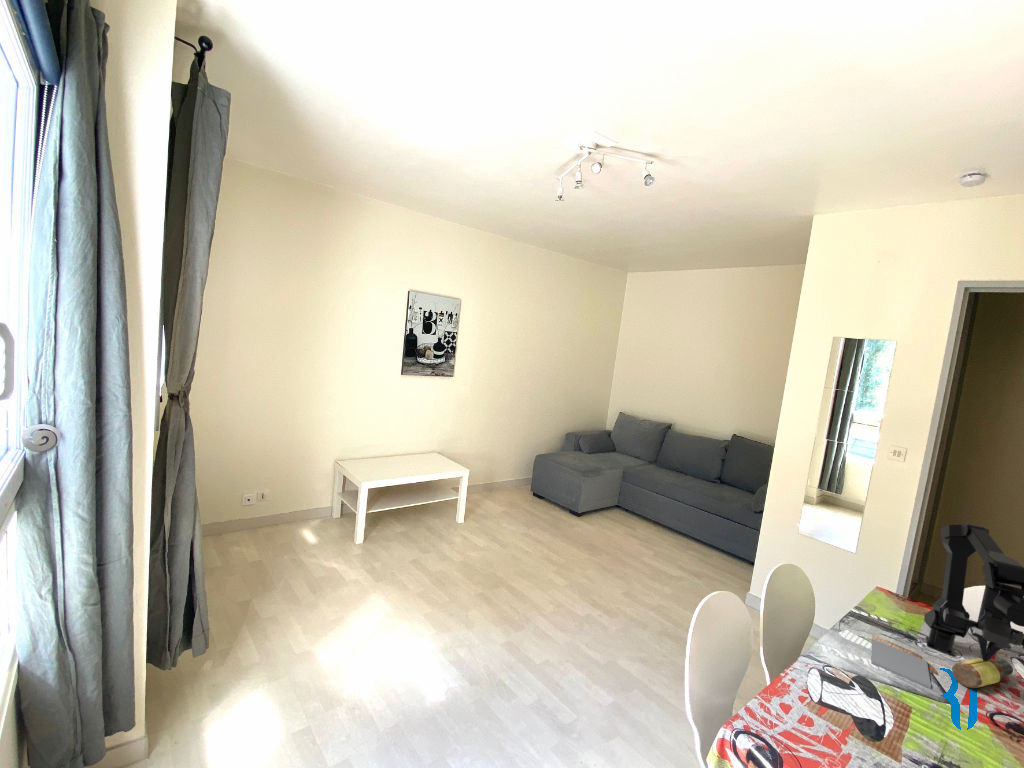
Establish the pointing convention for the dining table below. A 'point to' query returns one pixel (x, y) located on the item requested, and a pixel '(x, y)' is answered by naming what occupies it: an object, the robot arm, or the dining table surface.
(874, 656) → the rubber mat
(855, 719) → the dining table surface
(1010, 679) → the dining table surface
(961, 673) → the sauce bottle
